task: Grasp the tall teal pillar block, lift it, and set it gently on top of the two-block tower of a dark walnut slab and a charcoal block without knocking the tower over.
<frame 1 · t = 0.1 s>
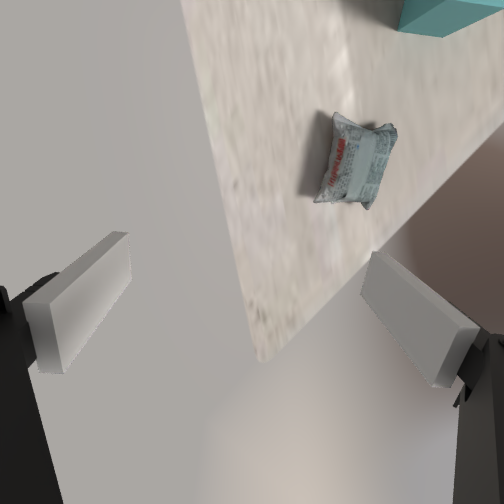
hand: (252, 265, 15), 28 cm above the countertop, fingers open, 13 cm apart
teal block: (427, 4, 34), on the countertop
packaged food: (345, 163, 41), on the countertop
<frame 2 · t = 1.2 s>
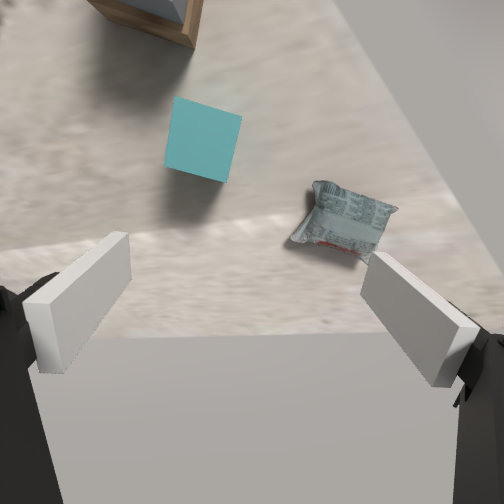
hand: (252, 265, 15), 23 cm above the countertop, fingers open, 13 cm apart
teal block: (210, 140, 34), on the countertop
packaged food: (337, 220, 39), on the countertop
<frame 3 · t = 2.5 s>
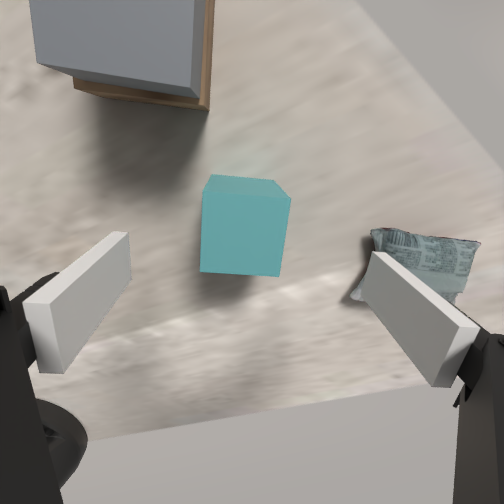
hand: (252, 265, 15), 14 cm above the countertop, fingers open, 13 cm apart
walnut base: (157, 43, 23), on the countertop, touching charcoal block
charcoal block: (142, 20, 18), point 5 cm above the countertop, touching walnut base
teal block: (240, 207, 28), on the countertop
packaged food: (401, 264, 32), on the countertop
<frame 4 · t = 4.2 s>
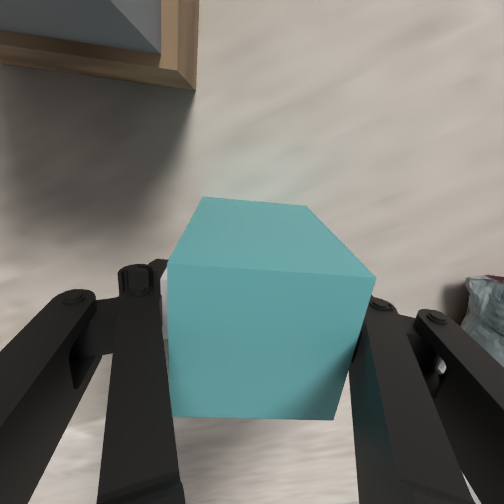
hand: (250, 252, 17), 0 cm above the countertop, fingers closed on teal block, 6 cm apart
teal block: (250, 249, 17), on the countertop, touching gripper
packaged food: (498, 322, 21), on the countertop
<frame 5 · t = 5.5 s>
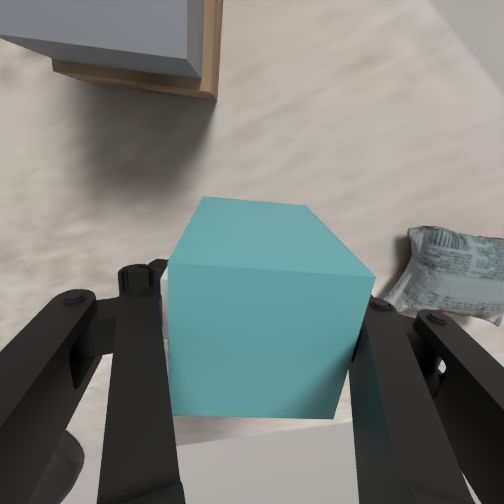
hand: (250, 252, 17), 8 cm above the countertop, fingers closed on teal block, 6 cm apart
walnut base: (156, 18, 19), on the countertop, touching charcoal block
teal block: (250, 249, 17), point 8 cm above the countertop, touching gripper
packaged food: (440, 267, 28), on the countertop
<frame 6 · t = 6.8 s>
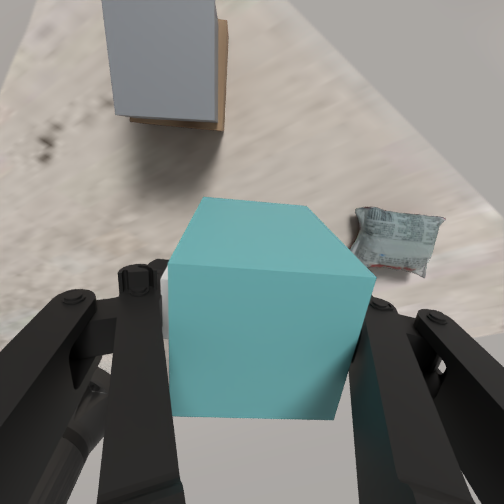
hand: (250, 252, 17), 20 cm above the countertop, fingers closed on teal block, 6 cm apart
walnut base: (185, 82, 31), on the countertop
charcoal block: (174, 73, 26), point 5 cm above the countertop
teal block: (250, 249, 17), point 20 cm above the countertop, touching gripper
packaged food: (383, 238, 39), on the countertop
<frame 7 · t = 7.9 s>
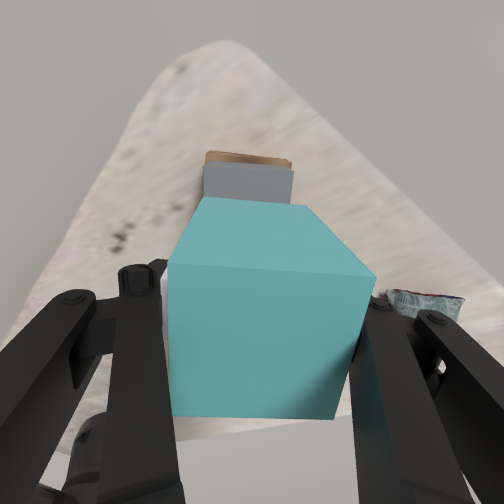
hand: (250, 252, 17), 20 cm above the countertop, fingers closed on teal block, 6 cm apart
walnut base: (244, 192, 36), on the countertop, touching charcoal block
charcoal block: (245, 201, 31), point 5 cm above the countertop, touching walnut base
teal block: (250, 249, 17), point 19 cm above the countertop, touching gripper
packaged food: (407, 310, 44), on the countertop
when the fingers open (12 cm above the countertop, at t = 9.7 s): teal block drops 2 cm, point 10 cm above the countertop.
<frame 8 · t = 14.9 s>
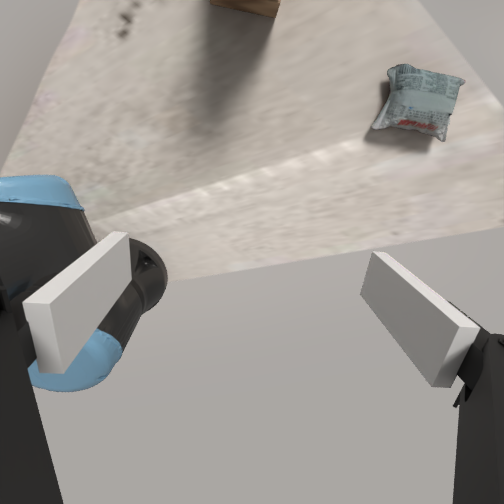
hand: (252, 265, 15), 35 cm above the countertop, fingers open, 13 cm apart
packaged food: (408, 107, 45), on the countertop
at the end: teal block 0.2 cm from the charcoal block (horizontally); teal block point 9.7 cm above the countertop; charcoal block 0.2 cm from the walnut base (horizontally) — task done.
